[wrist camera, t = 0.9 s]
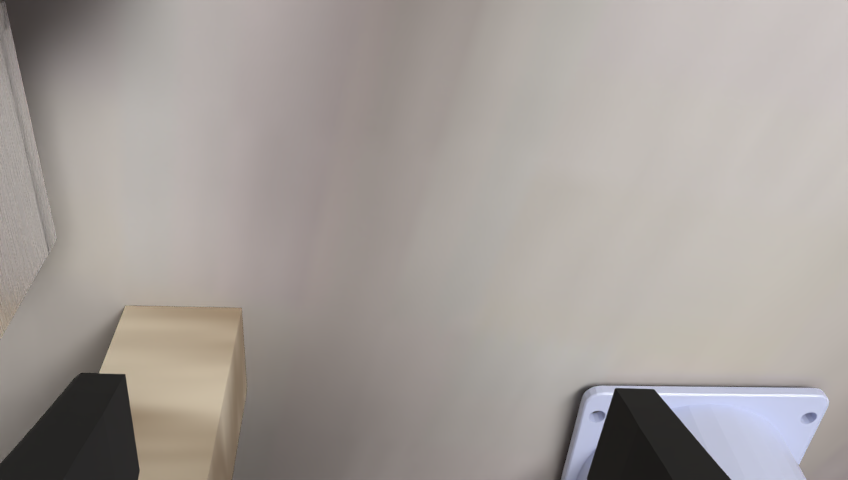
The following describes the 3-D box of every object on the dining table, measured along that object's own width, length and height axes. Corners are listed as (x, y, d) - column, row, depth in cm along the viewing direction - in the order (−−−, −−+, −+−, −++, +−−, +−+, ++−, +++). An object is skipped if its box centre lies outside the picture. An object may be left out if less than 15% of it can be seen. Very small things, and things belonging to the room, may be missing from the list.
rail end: (247, 389, 24) (204, 645, 18) (139, 388, 24) (55, 648, 18) (241, 308, 23) (191, 558, 16) (125, 305, 22) (25, 560, 16)
